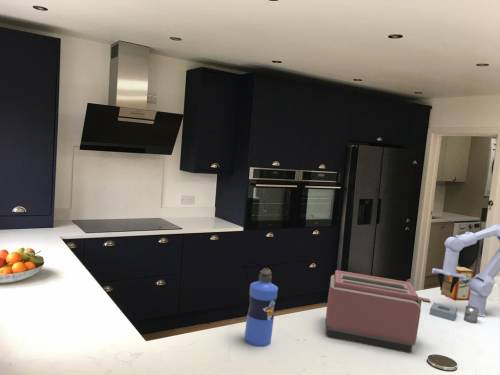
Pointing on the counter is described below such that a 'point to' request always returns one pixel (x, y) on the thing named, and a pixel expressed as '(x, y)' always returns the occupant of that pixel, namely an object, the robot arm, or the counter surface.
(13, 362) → the counter surface
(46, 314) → the counter surface
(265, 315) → the water bottle
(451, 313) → the socket block
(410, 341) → the toaster
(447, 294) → the square peg
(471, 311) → the round peg
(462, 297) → the baking soda box
